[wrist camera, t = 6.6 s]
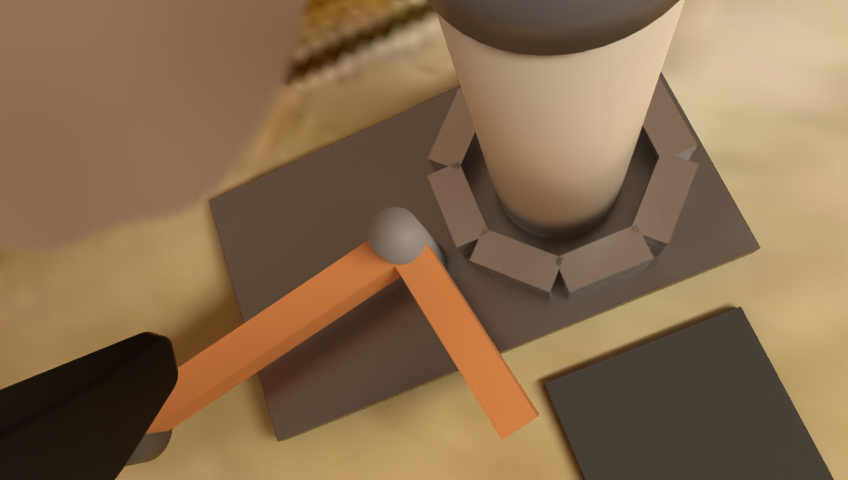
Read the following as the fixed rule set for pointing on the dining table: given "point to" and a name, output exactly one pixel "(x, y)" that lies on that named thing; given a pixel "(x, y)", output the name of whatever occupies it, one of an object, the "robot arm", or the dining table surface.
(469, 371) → the clip
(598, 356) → the dining table surface
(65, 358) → the dining table surface
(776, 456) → the pad
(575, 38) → the plug
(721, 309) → the dining table surface
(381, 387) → the socket plate
